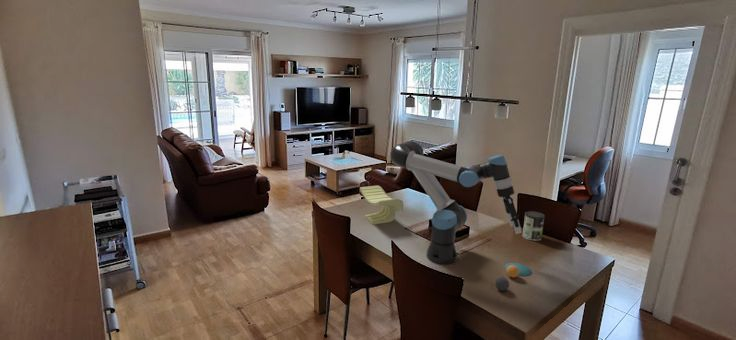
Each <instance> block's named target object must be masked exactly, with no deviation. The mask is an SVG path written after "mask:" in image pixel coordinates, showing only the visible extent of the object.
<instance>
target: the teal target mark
mask: <svg viewBox="0 0 736 340" xmlns="http://www.w3.org/2000/svg"><path fill="white" fill-rule="evenodd" d="M510 265H515V266H516V267H518V269H519V275H518V276H517V277H528V276H530V275H531V274H532V272H533V271H532V269H531V268H530V267H528V266H526V265H524V264H521V263H517V262H510V263H506V264H505V265H504V270H505V271H506V270H507V267H508V266H510Z"/></svg>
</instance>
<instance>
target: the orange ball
mask: <svg viewBox="0 0 736 340" xmlns="http://www.w3.org/2000/svg"><path fill="white" fill-rule="evenodd" d="M505 271H506V274H507V276H509V277H510V278H517V277H519V276H518V275H519V269H518V267H516V266H515V265H510V266H508V267H507V270H506V269H505Z"/></svg>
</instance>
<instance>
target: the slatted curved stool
mask: <svg viewBox="0 0 736 340" xmlns="http://www.w3.org/2000/svg"><path fill="white" fill-rule="evenodd" d="M359 192H360V193H361V195H362V196H363V198H364V200H365V201H366V202H368V203H369V204H370V205H372V207H374V206H375V207H379V206H380V207H381V209H380V210H379V211H377V212H374V213H370V214H365V216H364V219H366V220H367V221H368V222H370V223H371V224H372V225H378V224H380V225H381V224H384V223H391V222H393V221H395V218H396V212H398V211H399V212H400V211H404V202H403V200H402V199H401V198H397V199H393V198H391V197H390V196H389V195H388V194H387V193H386V191H385V190H384V189H383V187H381V186H380V185H370V186H368V185H367V186H360V187H359Z"/></svg>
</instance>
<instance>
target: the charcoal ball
mask: <svg viewBox="0 0 736 340" xmlns="http://www.w3.org/2000/svg"><path fill="white" fill-rule="evenodd" d="M495 287H496V288H497V289H498V290H499V291H502V292H503V291H506V290H508V289H509V287H510V282H509V280H508V279H507V278H505V277H502V276H501V277H498V278H497V279H496V280H495Z"/></svg>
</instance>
